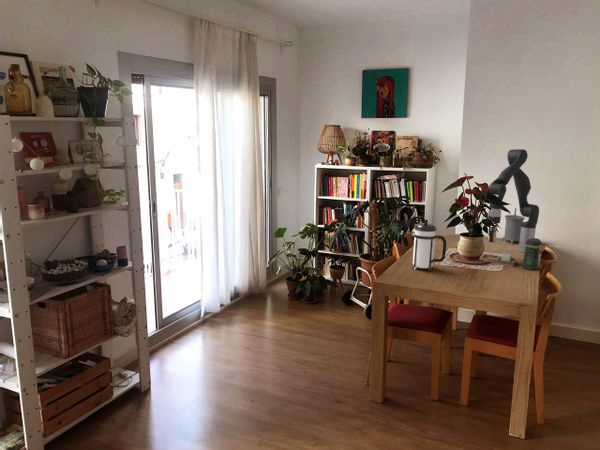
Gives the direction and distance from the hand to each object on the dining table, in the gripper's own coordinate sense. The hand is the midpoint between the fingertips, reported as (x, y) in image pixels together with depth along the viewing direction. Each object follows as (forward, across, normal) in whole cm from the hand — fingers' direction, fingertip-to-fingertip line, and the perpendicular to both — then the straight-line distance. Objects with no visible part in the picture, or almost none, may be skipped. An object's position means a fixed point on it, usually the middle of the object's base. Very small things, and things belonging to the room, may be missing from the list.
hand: (491, 241), depth 309 cm
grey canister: (+13, -66, +2) cm, 67 cm away
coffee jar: (+13, +2, +24) cm, 28 cm away
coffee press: (+13, +42, -29) cm, 53 cm away
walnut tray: (+13, 0, +5) cm, 14 cm away
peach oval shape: (0, 0, 0) cm, 0 cm away
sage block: (+12, 0, +9) cm, 15 cm away
